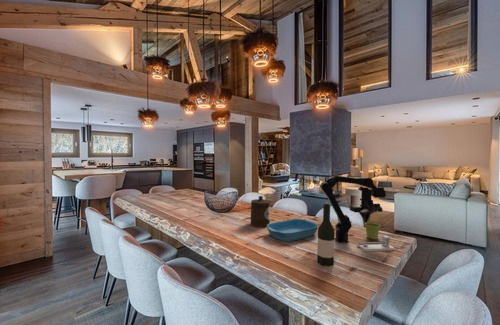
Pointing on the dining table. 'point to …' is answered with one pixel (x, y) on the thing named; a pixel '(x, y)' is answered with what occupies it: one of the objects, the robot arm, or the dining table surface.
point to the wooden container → (260, 212)
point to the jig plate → (374, 246)
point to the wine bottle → (326, 239)
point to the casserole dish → (292, 229)
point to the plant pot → (372, 230)
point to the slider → (385, 241)
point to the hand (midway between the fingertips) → (365, 222)
